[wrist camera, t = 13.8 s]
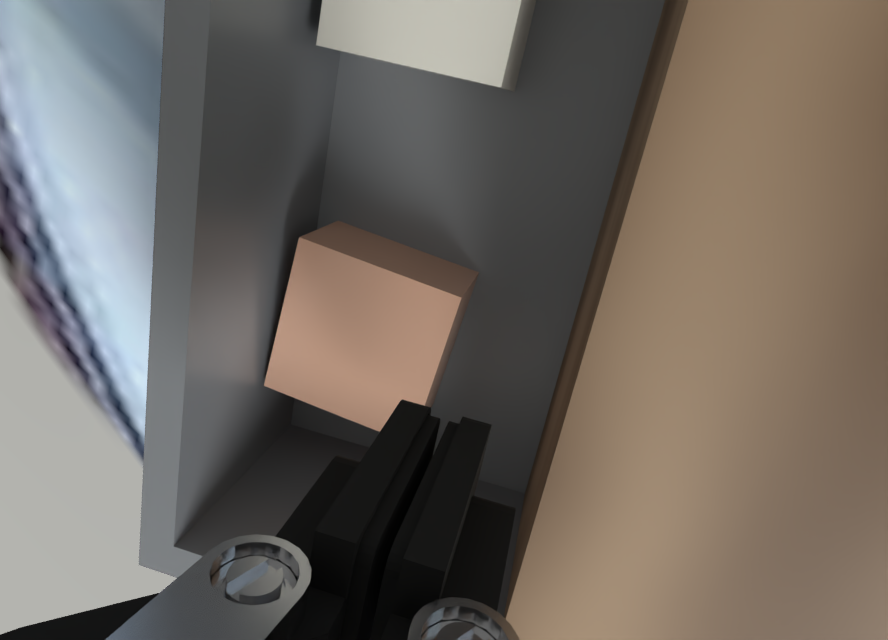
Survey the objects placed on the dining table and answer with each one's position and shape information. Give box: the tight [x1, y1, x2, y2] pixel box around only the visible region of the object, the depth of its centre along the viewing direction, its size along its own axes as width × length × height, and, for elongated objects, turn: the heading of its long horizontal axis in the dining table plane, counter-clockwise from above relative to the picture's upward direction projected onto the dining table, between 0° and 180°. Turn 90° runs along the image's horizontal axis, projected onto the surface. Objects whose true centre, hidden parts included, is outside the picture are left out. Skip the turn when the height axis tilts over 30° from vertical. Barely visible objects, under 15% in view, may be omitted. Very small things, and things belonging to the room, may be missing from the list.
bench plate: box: [504, 0, 888, 640], centre depth 13 cm, size 10×18×6 cm, turn 169°
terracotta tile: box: [264, 221, 479, 432], centre depth 17 cm, size 4×4×2 cm
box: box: [139, 0, 665, 617], centre depth 14 cm, size 8×18×6 cm, turn 169°
